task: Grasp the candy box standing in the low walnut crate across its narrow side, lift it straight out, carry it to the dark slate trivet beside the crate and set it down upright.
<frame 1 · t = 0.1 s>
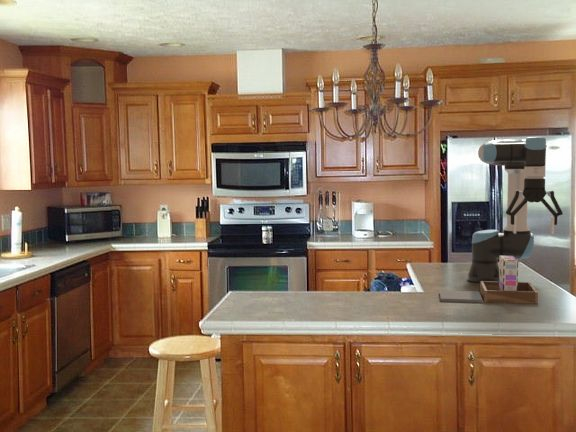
hand: (533, 233, 249), 28 cm above the worktop, fingers open, 13 cm apart
trivet: (460, 297, 265), on the worktop
crate: (507, 297, 265), on the worktop
candy box: (507, 297, 265), resting in crate
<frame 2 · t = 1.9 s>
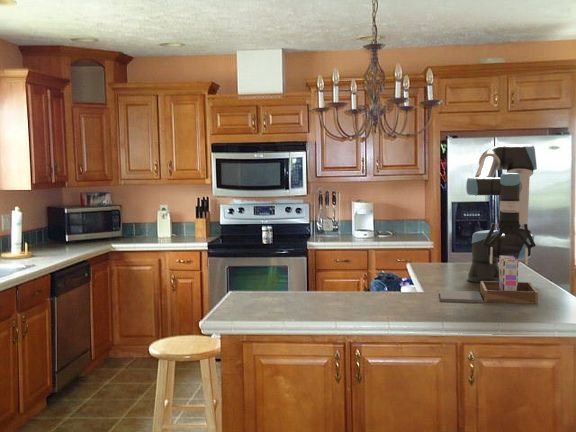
hand: (508, 263, 264), 14 cm above the worktop, fingers open, 13 cm apart
nothing on the worktop moved.
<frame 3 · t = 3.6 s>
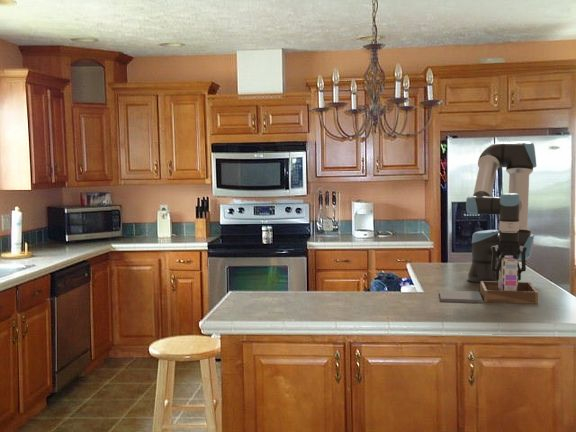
hand: (507, 287, 265), 4 cm above the worktop, fingers closed on candy box, 6 cm apart
candy box: (507, 297, 265), resting in crate, touching gripper
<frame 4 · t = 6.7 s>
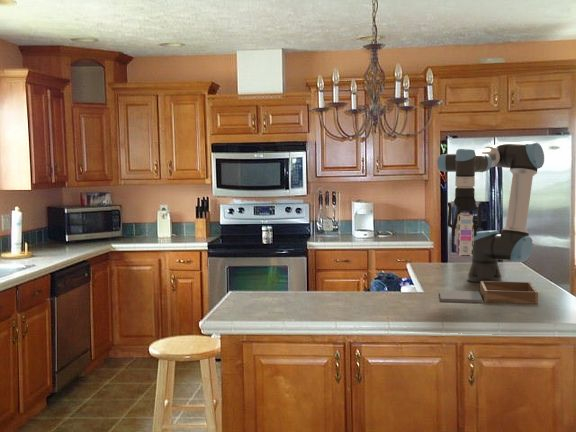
hand: (464, 244, 263), 22 cm above the worktop, fingers closed on candy box, 6 cm apart
candy box: (464, 254, 263), point 18 cm above the worktop, touching gripper
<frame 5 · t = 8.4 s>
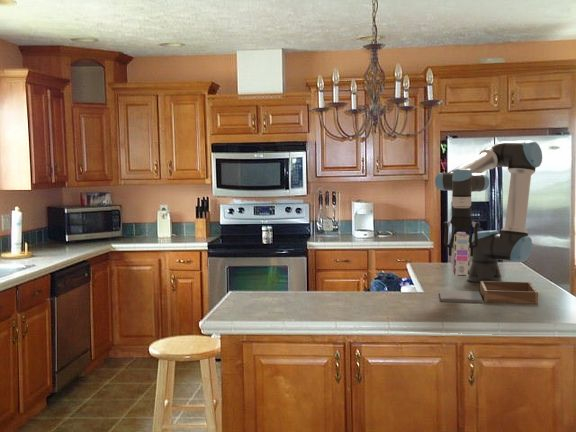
hand: (460, 263, 264), 14 cm above the worktop, fingers closed on candy box, 6 cm apart
candy box: (460, 273, 264), point 10 cm above the worktop, touching gripper
when the fingers open (7 cm above the worktop, at t = 10.0 s): candy box drops 2 cm, resting on trivet.
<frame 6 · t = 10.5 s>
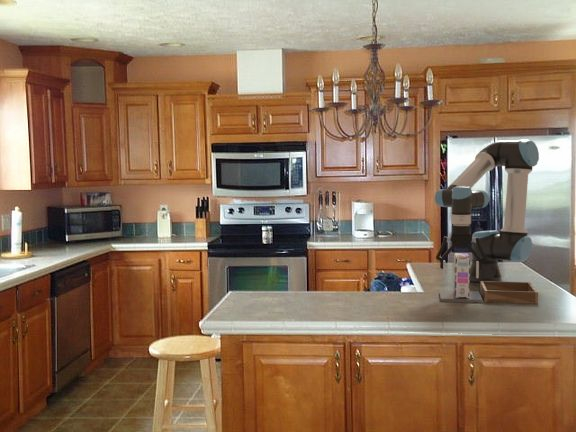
hand: (460, 277, 264), 9 cm above the worktop, fingers open, 12 cm apart
candy box: (461, 295, 265), point 1 cm above the worktop, touching trivet
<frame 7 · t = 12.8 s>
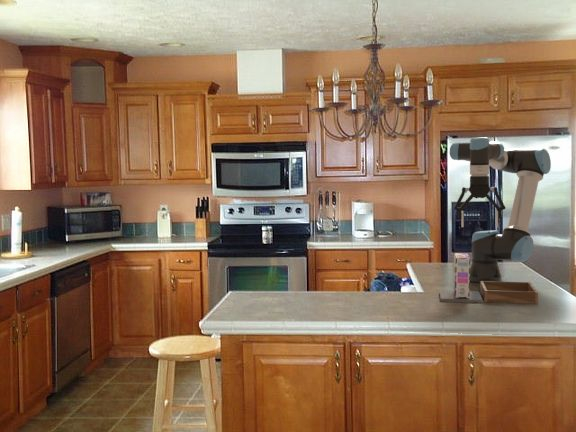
hand: (479, 226, 268), 28 cm above the worktop, fingers open, 13 cm apart
nothing on the worktop moved.
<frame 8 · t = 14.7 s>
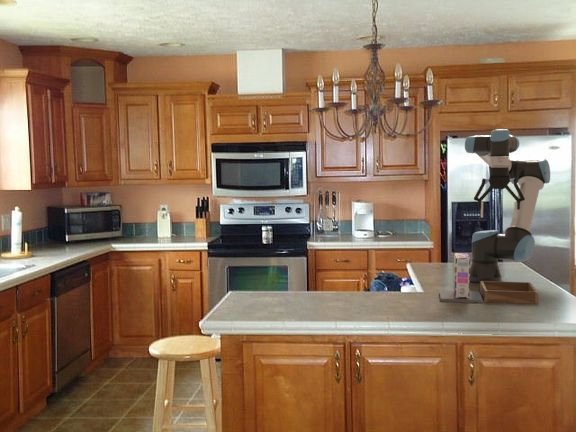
hand: (498, 217, 274), 32 cm above the worktop, fingers open, 13 cm apart
nothing on the worktop moved.
at the end: candy box inside the target area (0.4 cm from its centre), point 1.0 cm above the worktop; candy box tilted 0°; the gripper is holding nothing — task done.
